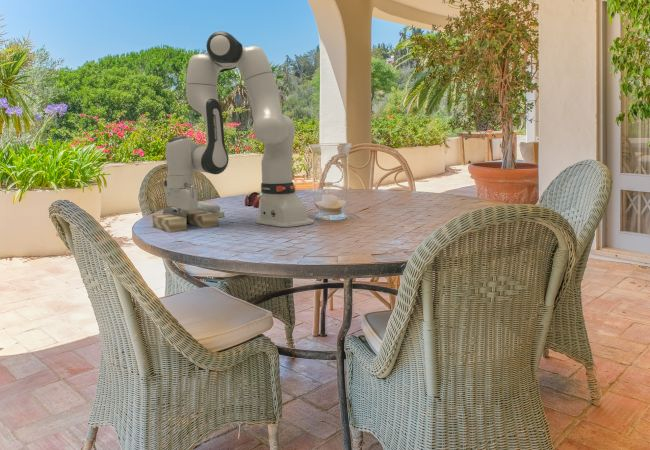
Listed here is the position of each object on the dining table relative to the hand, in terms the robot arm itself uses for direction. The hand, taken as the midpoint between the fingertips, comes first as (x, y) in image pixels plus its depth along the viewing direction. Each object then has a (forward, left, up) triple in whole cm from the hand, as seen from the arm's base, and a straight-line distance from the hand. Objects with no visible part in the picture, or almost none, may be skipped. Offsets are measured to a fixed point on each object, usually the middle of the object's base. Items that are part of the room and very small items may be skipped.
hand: (182, 220), depth 204 cm
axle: (+8, 0, -2) cm, 8 cm away
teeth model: (+25, -46, -2) cm, 52 cm away
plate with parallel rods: (+15, -14, -2) cm, 21 cm away
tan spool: (-2, 0, -2) cm, 3 cm away
